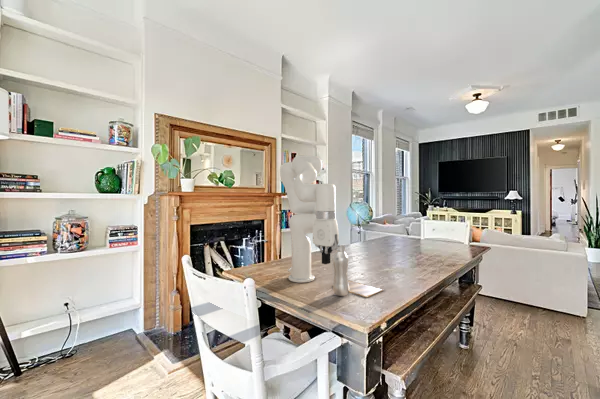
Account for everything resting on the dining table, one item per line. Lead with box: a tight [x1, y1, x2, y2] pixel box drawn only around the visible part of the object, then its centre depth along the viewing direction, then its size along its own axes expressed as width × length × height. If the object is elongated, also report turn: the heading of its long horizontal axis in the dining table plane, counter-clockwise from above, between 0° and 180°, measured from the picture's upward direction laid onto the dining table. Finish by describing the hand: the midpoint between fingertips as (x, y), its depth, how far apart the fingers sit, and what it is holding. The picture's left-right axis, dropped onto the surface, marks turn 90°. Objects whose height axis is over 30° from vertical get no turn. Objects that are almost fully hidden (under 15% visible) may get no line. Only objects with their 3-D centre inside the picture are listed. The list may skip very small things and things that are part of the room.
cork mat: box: [332, 279, 384, 298], centre depth 122 cm, size 18×12×1 cm, turn 42°
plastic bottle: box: [332, 244, 350, 297], centre depth 115 cm, size 6×7×20 cm
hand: (326, 263), depth 108 cm, fingers closed
